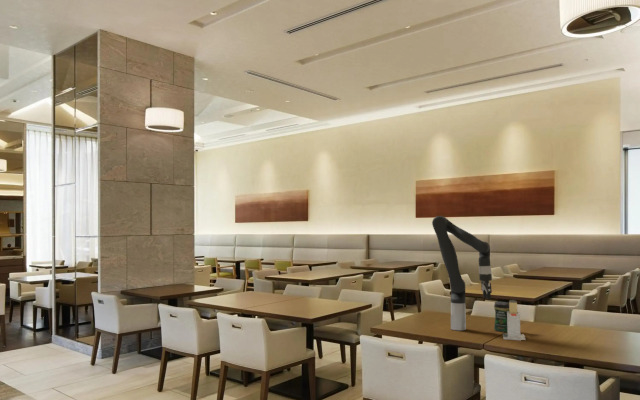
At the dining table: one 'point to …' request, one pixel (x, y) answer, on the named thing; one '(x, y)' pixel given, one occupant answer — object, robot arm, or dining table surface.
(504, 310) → the coffee jar
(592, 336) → the dining table surface
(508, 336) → the stand
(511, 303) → the post
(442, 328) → the dining table surface
